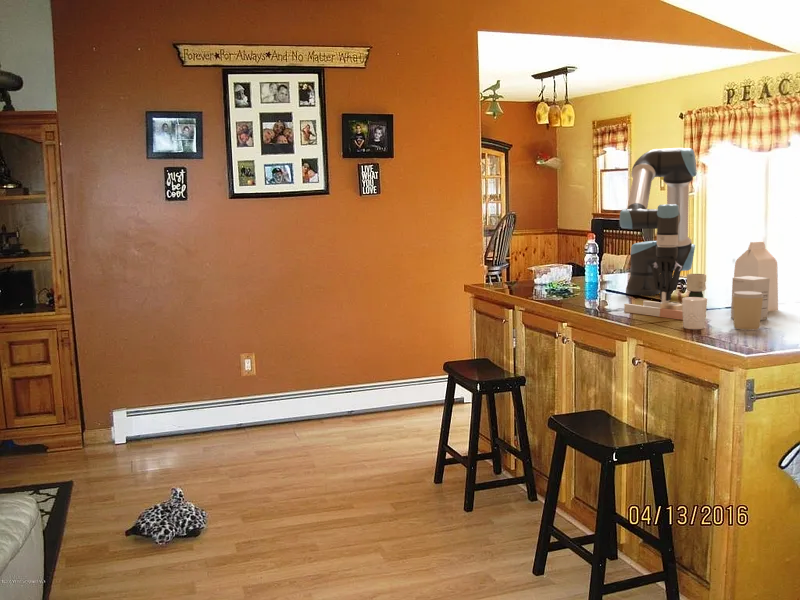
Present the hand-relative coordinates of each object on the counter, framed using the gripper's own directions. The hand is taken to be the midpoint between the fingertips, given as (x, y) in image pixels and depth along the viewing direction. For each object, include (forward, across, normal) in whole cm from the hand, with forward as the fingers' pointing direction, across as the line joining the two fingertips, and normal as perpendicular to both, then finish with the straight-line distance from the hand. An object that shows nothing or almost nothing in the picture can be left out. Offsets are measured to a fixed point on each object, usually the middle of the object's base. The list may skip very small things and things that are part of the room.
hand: (665, 308), depth 291 cm
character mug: (+2, -2, +22) cm, 22 cm away
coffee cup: (+2, +35, -5) cm, 36 cm away
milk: (+2, +16, +33) cm, 37 cm away
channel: (+2, -1, 0) cm, 2 cm away
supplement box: (+2, +26, +12) cm, 29 cm away
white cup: (+2, +23, -17) cm, 29 cm away
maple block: (+2, +4, -1) cm, 5 cm away
